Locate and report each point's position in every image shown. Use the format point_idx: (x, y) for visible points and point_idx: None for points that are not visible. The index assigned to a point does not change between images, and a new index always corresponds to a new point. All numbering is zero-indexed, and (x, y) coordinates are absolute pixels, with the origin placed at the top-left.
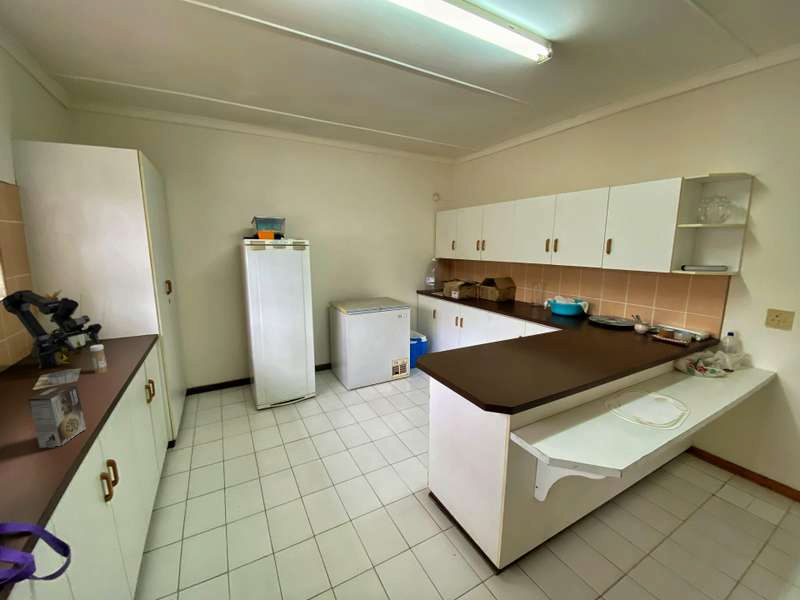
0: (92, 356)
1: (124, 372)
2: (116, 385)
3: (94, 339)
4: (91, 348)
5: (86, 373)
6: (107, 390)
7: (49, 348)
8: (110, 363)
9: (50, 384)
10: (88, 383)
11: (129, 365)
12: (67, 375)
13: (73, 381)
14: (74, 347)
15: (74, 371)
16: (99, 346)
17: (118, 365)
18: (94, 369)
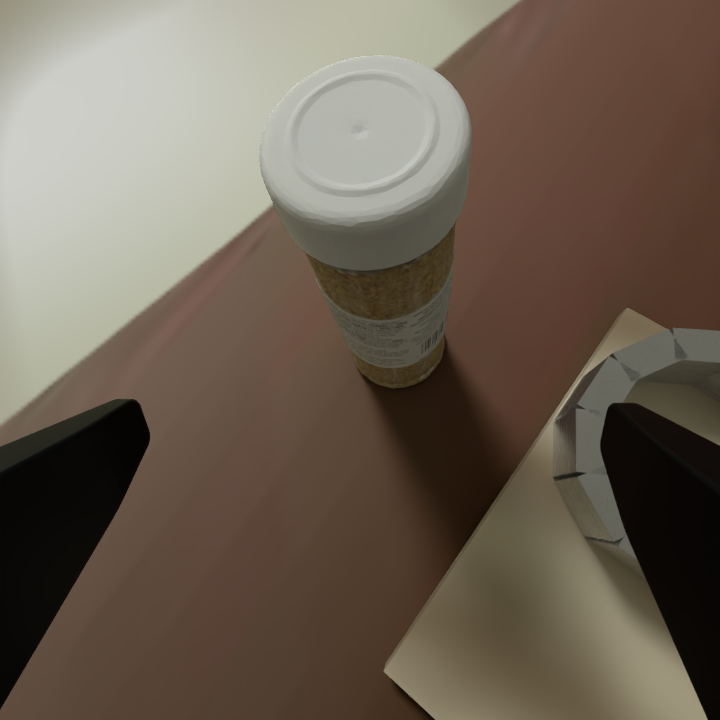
0: (452, 249)
1: None
2: (527, 27)
3: (19, 549)
4: (469, 128)
5: (435, 492)
6: (604, 2)
7: None
8: (169, 542)
9: None
10: (582, 226)
11: (197, 304)
12: (716, 333)
13: (649, 324)
14: (657, 432)
15: (616, 382)
16: (369, 58)
17: (208, 400)
18: (439, 342)
